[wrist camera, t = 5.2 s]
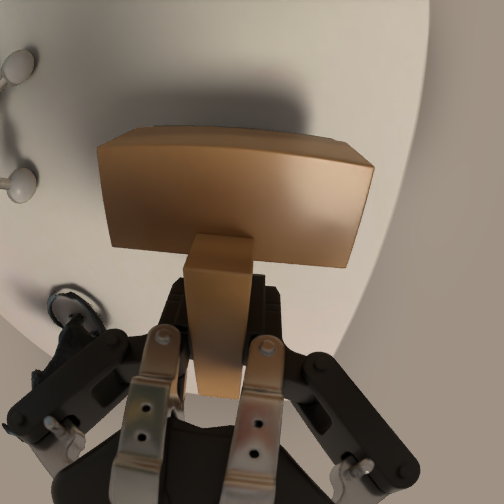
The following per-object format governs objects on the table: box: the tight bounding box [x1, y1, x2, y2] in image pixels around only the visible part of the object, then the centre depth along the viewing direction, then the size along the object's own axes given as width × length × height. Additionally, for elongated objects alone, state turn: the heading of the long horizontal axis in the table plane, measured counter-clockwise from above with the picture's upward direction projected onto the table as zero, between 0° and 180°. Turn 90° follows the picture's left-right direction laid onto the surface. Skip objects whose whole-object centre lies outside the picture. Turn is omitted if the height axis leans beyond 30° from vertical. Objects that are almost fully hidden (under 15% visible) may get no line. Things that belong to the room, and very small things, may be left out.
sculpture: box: [2, 291, 106, 442], centre depth 18 cm, size 8×11×15 cm
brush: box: [97, 125, 374, 399], centre depth 12 cm, size 11×9×7 cm
